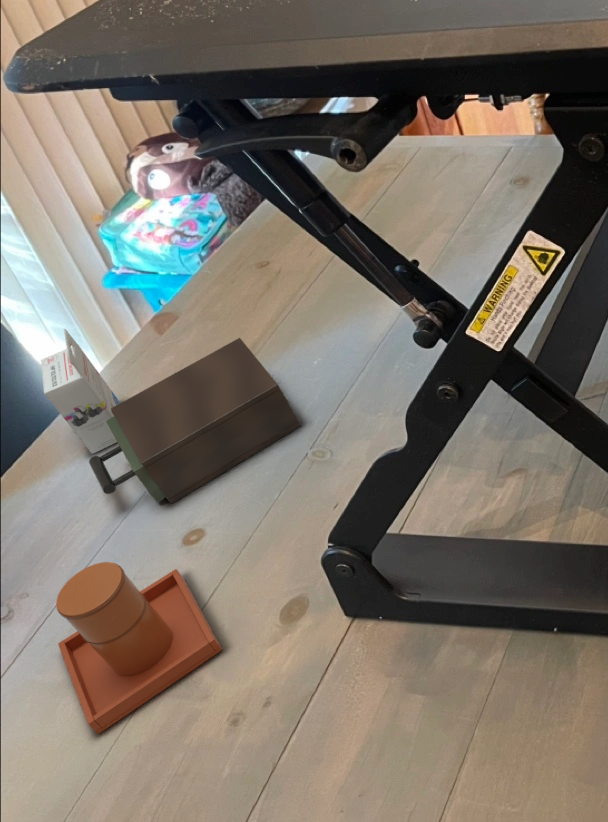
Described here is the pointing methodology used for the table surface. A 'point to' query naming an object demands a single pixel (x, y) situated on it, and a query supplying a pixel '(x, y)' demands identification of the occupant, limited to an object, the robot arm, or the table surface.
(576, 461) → the table surface
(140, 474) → the drawer
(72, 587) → the lidded orange canister
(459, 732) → the table surface
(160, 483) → the cabinet
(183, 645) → the tray
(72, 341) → the ink box
